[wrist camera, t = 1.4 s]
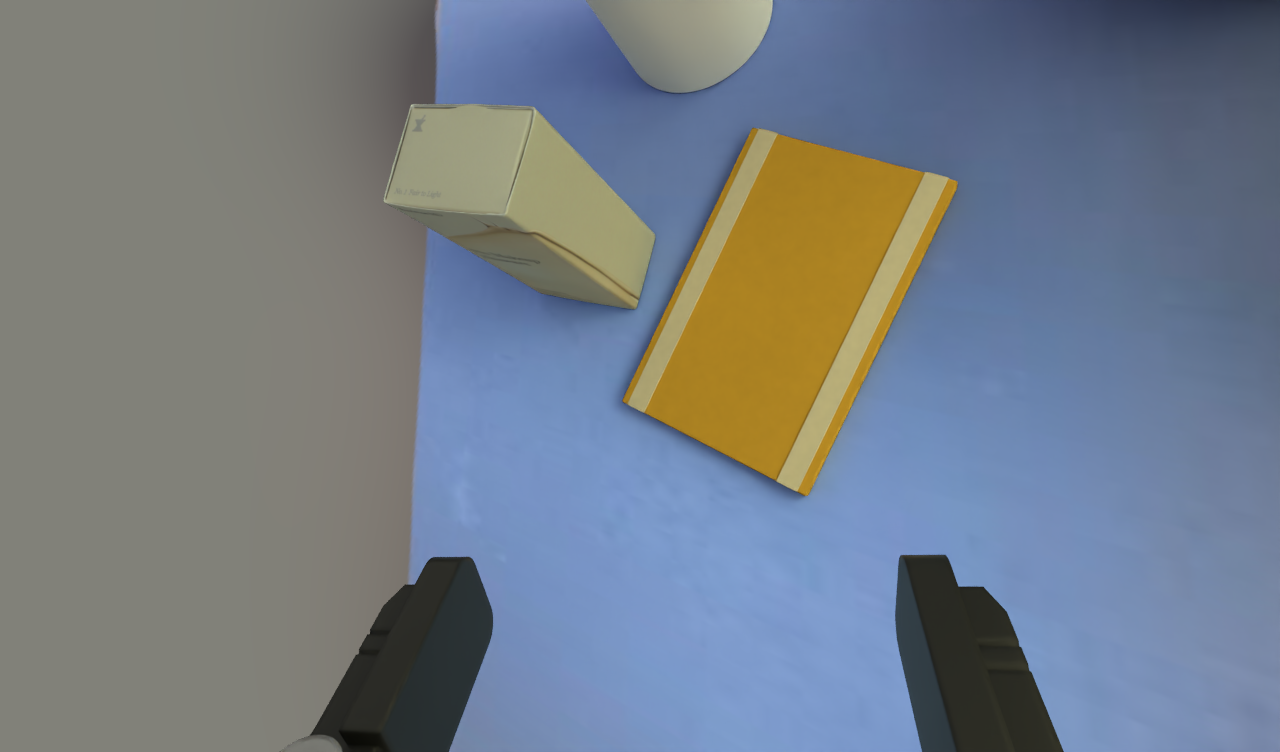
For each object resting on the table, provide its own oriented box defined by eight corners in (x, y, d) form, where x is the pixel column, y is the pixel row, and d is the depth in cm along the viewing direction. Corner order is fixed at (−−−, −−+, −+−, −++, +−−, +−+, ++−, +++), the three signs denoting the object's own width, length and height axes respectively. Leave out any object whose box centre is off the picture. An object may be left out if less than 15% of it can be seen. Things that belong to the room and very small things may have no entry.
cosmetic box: (541, 295, 37) (374, 206, 26) (561, 219, 38) (405, 100, 27) (641, 311, 35) (502, 220, 24) (662, 229, 35) (535, 102, 24)
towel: (755, 133, 34) (752, 126, 33) (957, 186, 29) (958, 179, 29) (626, 402, 34) (620, 401, 33) (808, 496, 30) (805, 496, 29)
